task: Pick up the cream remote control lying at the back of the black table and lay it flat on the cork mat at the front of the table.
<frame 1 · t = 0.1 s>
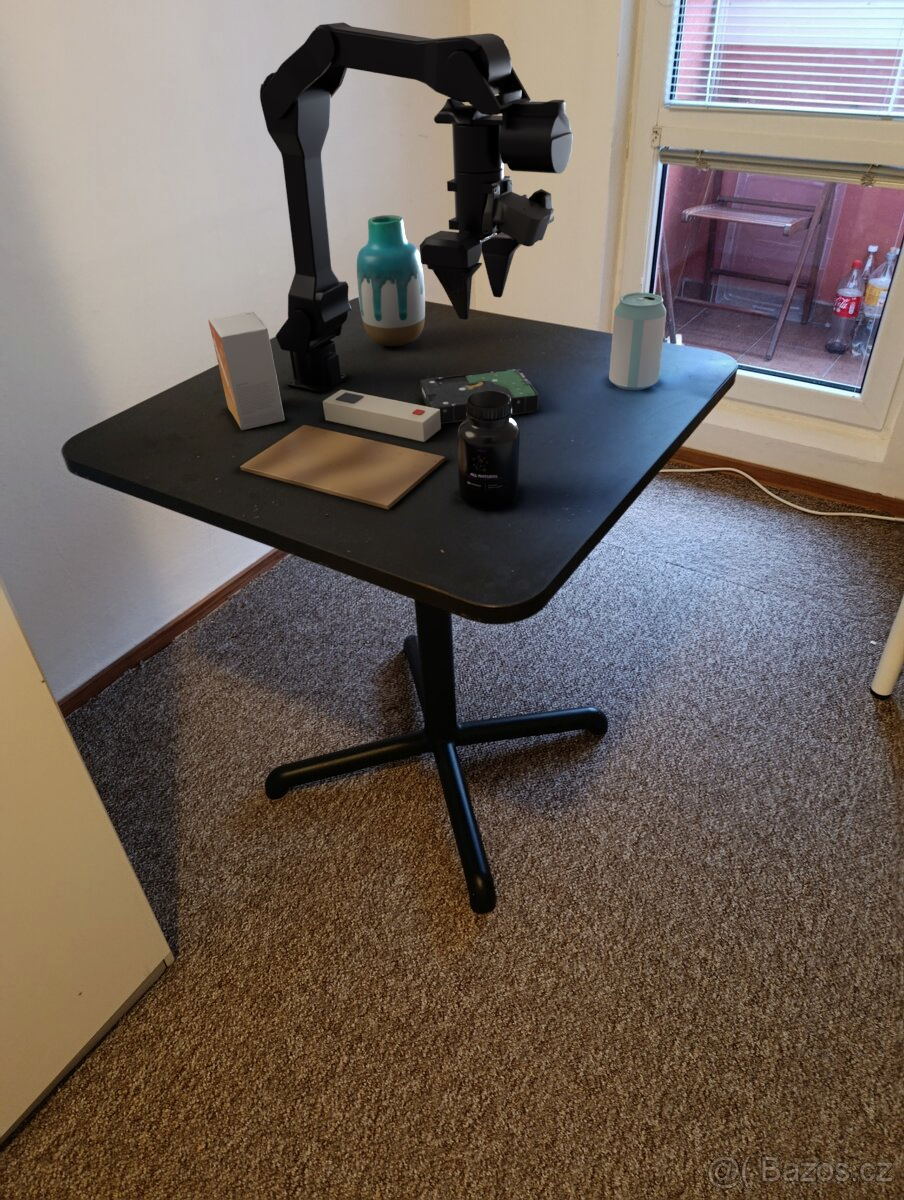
hand: (481, 307, 101), 15 cm above the table, tool pointing down, fingers open, 9 cm apart
vase: (395, 344, 134), on the table
can: (633, 383, 117), on the table
supplement bottle: (489, 498, 93), on the table
remote: (382, 424, 109), on the table
cork mat: (342, 465, 101), on the table
small box: (256, 416, 114), on the table
disk drive: (478, 406, 113), on the table
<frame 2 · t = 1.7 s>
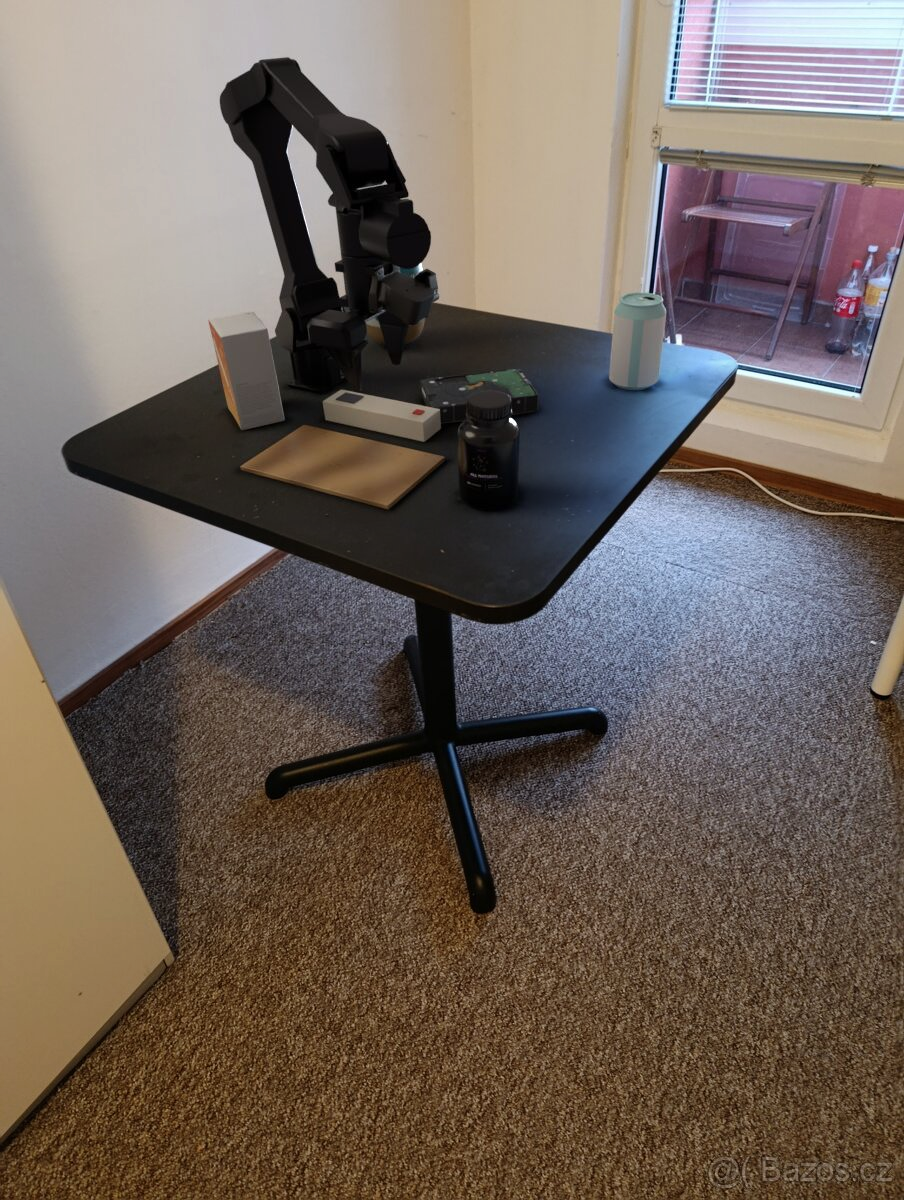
hand: (377, 376, 105), 7 cm above the table, tool pointing down, fingers open, 9 cm apart
nothing on the table moved.
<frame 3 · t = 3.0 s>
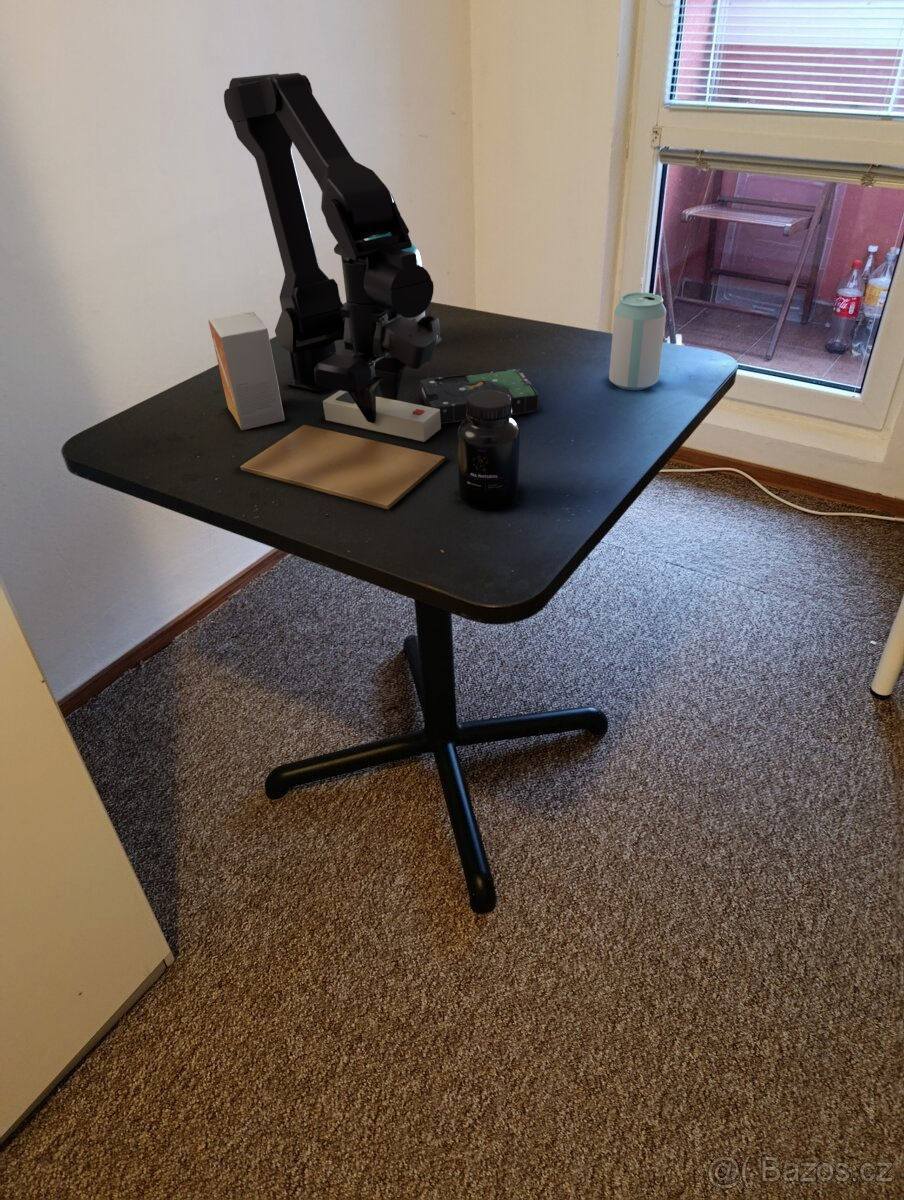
hand: (381, 415, 109), 1 cm above the table, tool pointing down, fingers closed on remote, 4 cm apart
remote: (382, 424, 109), on the table, touching gripper
everything else where it was.
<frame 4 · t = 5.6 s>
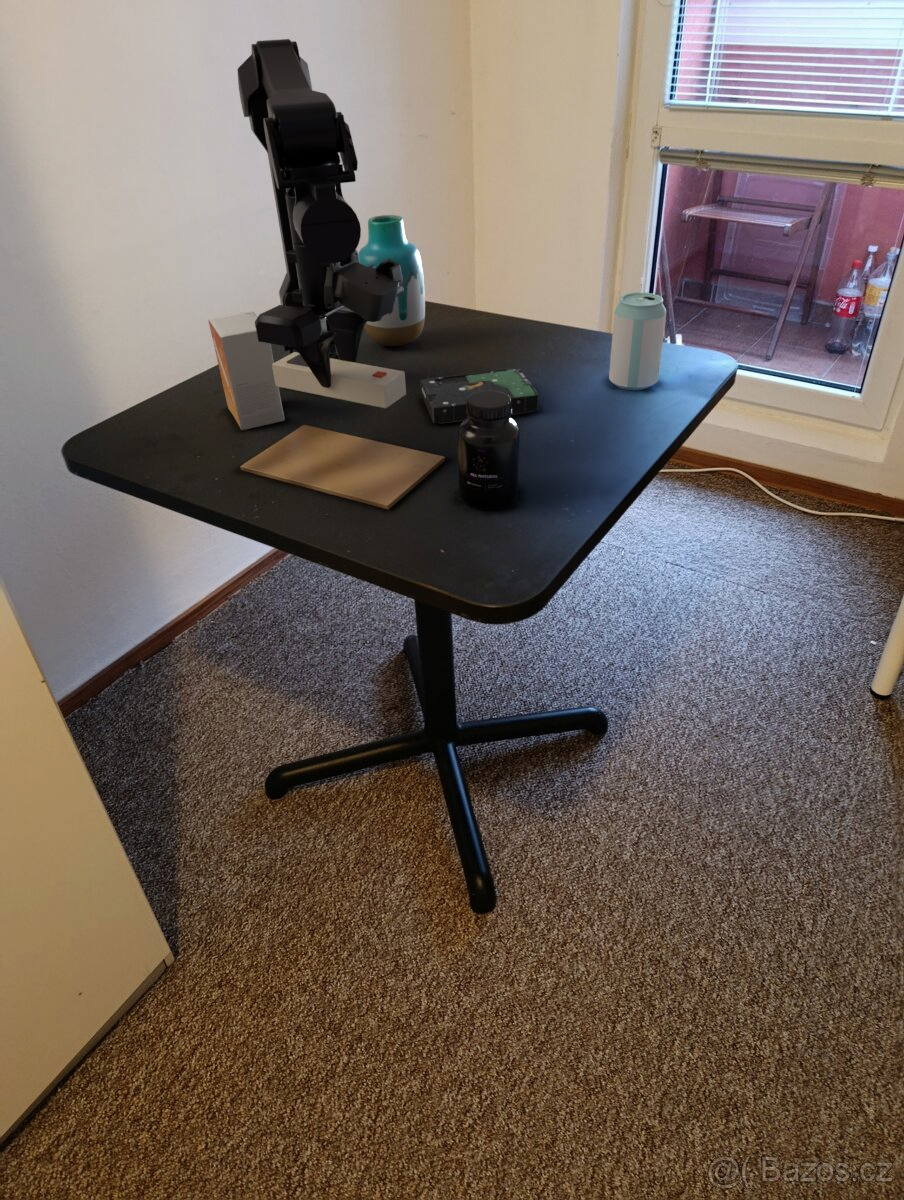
hand: (338, 379, 95), 11 cm above the table, tool pointing down, fingers closed on remote, 4 cm apart
remote: (339, 390, 96), point 9 cm above the table, touching gripper
everything else where it was.
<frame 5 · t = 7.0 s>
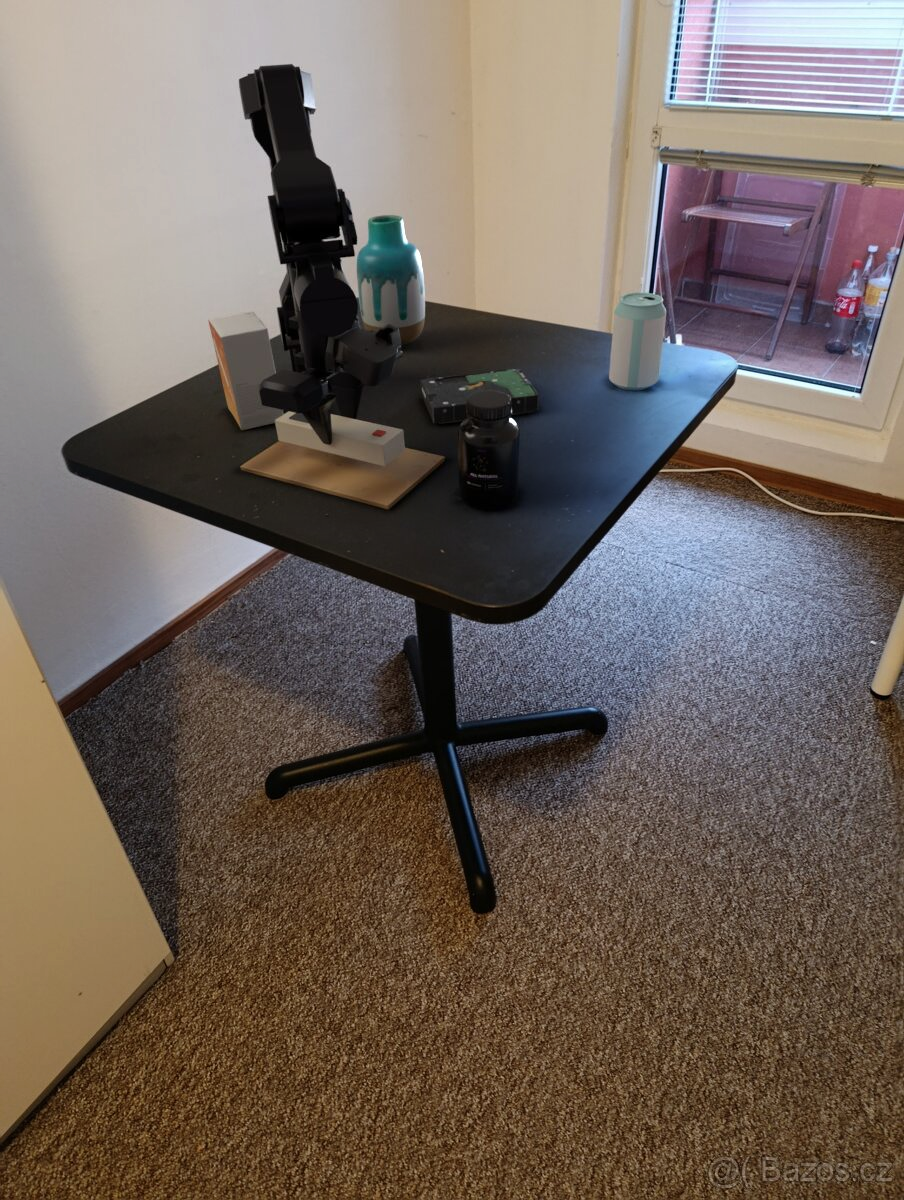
hand: (338, 436, 98), 4 cm above the table, tool pointing down, fingers closed on remote, 4 cm apart
remote: (340, 445, 99), point 3 cm above the table, touching gripper
everything else where it was.
when the fingers open (2 cm above the table, at t = 8.0 s): remote stays where it is, resting on cork mat.
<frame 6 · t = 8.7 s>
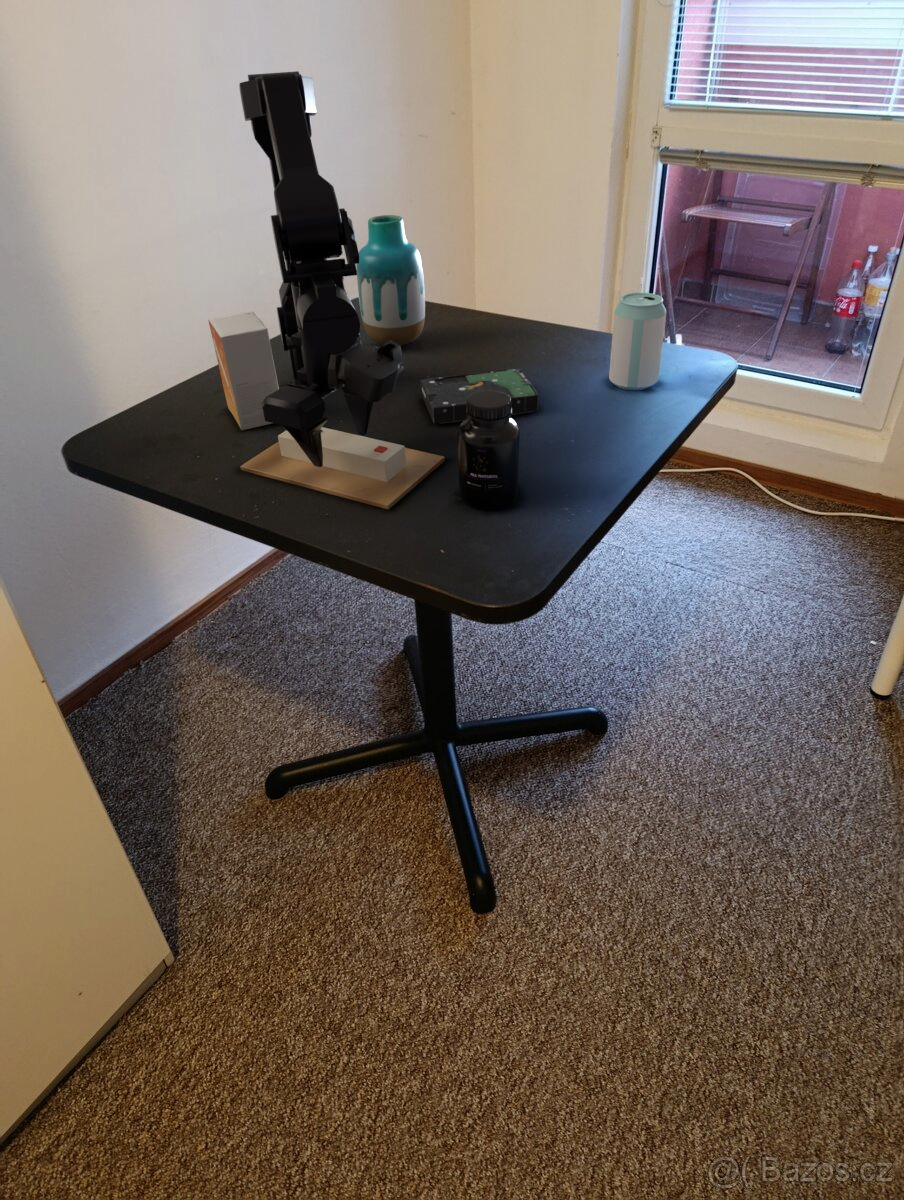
hand: (340, 450, 99), 2 cm above the table, tool pointing down, fingers open, 9 cm apart
remote: (342, 461, 100), point 1 cm above the table, touching cork mat
everything else where it was.
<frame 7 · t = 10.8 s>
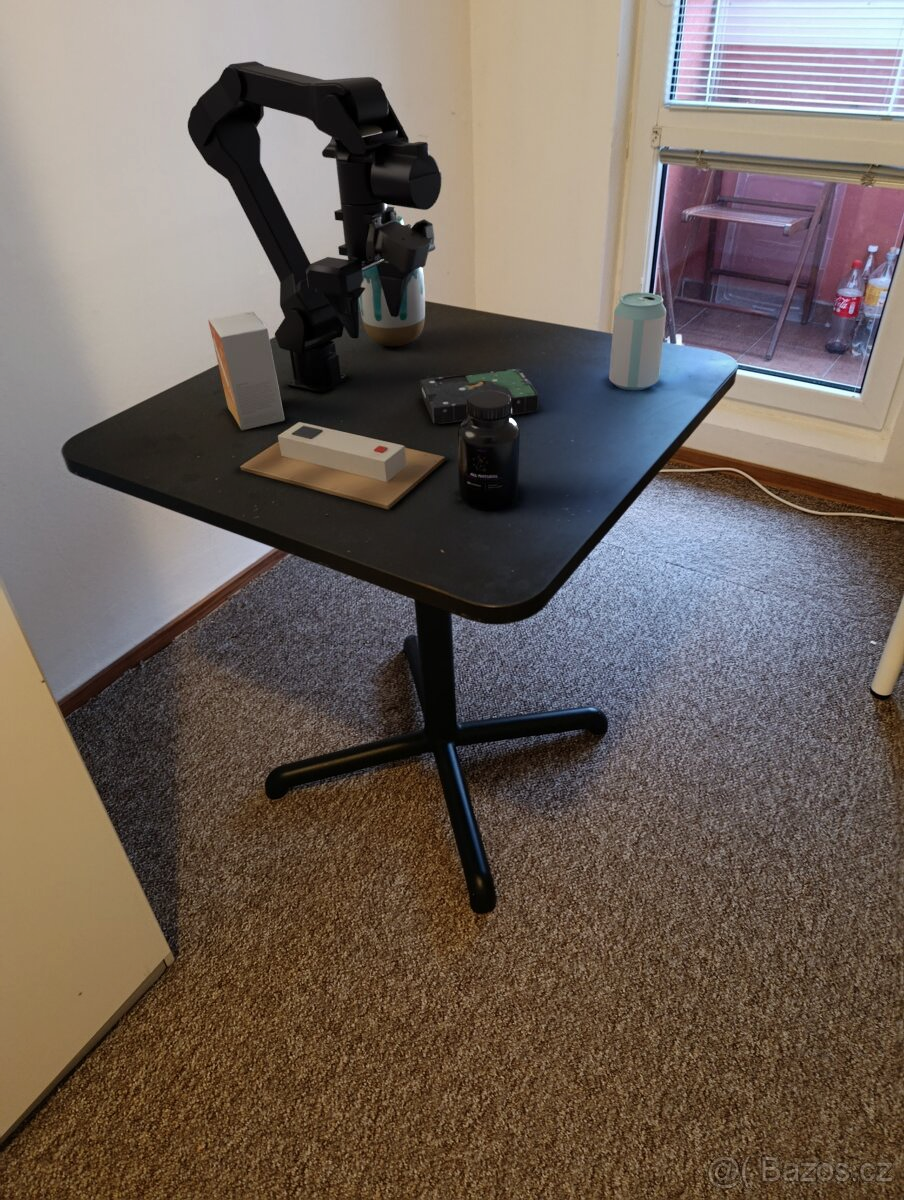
hand: (375, 326, 108), 11 cm above the table, tool pointing down, fingers open, 9 cm apart
nothing on the table moved.
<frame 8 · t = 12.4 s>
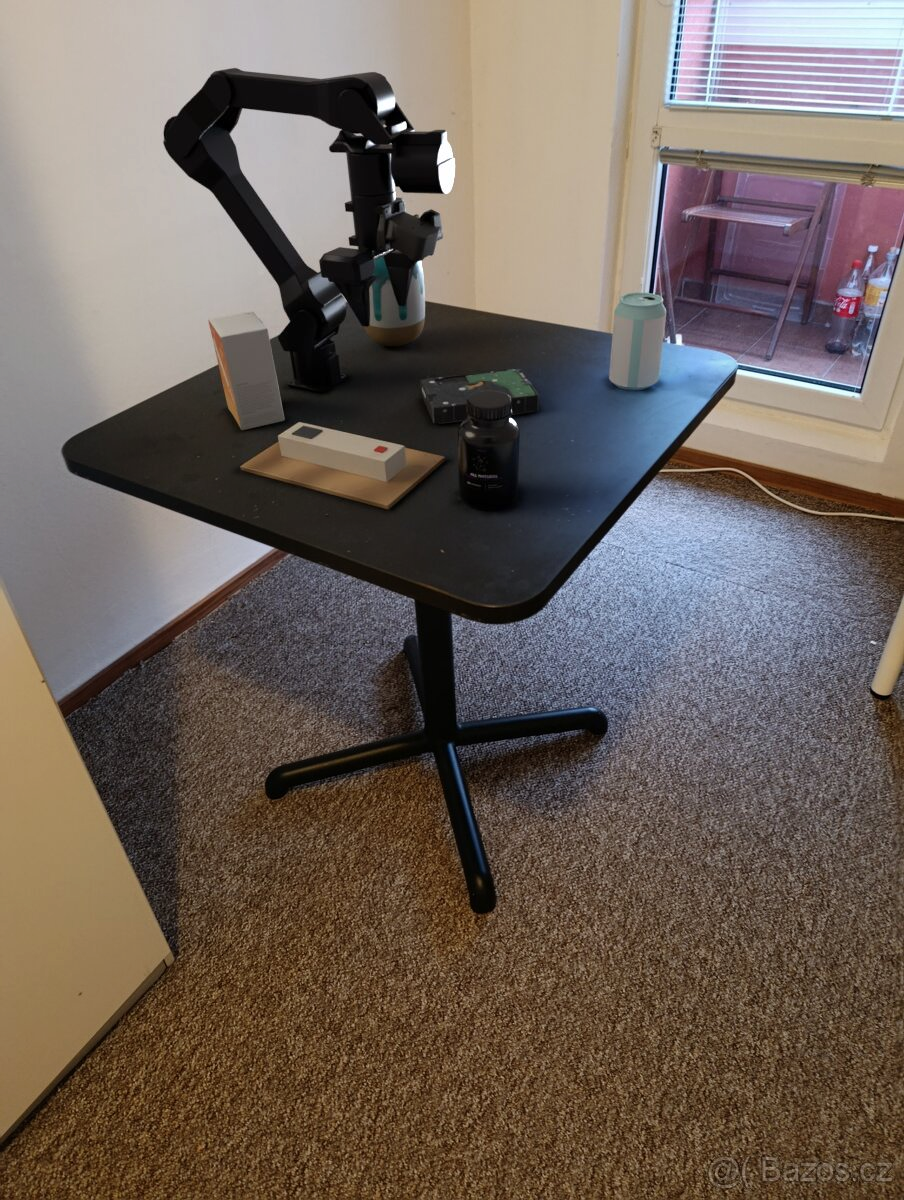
hand: (384, 315, 112), 11 cm above the table, tool pointing down, fingers open, 9 cm apart
nothing on the table moved.
at the end: remote inside the target area on the cork mat (0.1 cm from its centre), point 0.6 cm above the cork mat's base; remote tilted 0°; the gripper is holding nothing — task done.
